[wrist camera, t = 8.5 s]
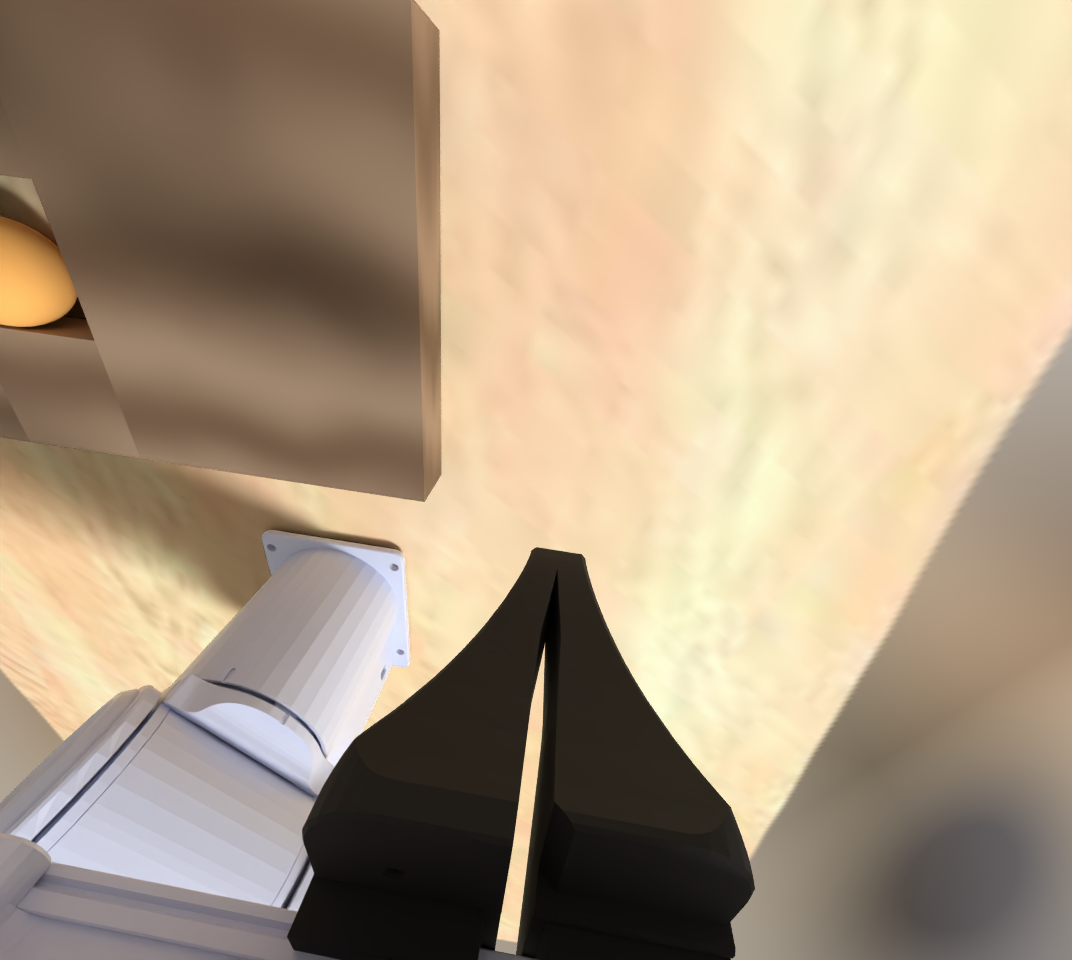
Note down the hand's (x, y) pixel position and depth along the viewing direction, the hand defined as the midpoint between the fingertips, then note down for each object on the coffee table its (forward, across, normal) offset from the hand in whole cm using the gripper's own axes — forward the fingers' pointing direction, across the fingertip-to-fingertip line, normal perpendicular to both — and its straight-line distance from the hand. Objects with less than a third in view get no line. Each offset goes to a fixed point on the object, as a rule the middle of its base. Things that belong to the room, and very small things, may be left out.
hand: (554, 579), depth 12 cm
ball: (+7, +23, -4) cm, 24 cm away
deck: (+9, +17, -5) cm, 20 cm away
